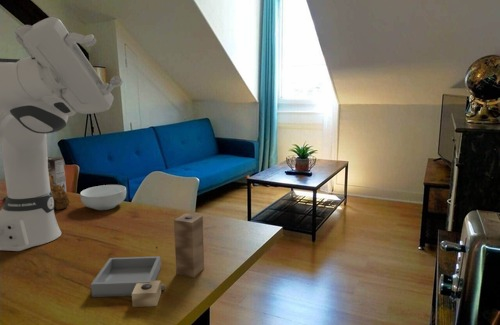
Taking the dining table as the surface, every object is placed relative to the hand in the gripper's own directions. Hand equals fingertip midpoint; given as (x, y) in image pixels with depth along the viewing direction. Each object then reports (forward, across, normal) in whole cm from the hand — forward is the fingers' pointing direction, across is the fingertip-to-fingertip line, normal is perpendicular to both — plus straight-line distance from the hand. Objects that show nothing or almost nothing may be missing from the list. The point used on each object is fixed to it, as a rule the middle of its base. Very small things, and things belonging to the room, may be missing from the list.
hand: (107, 60), depth 69 cm
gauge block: (-4, +38, +32) cm, 50 cm away
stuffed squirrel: (-67, +61, -16) cm, 92 cm away
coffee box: (-82, +71, -34) cm, 113 cm away
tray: (-12, +41, +26) cm, 50 cm away
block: (+1, +47, +23) cm, 53 cm away
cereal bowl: (-48, +67, -18) cm, 85 cm away
